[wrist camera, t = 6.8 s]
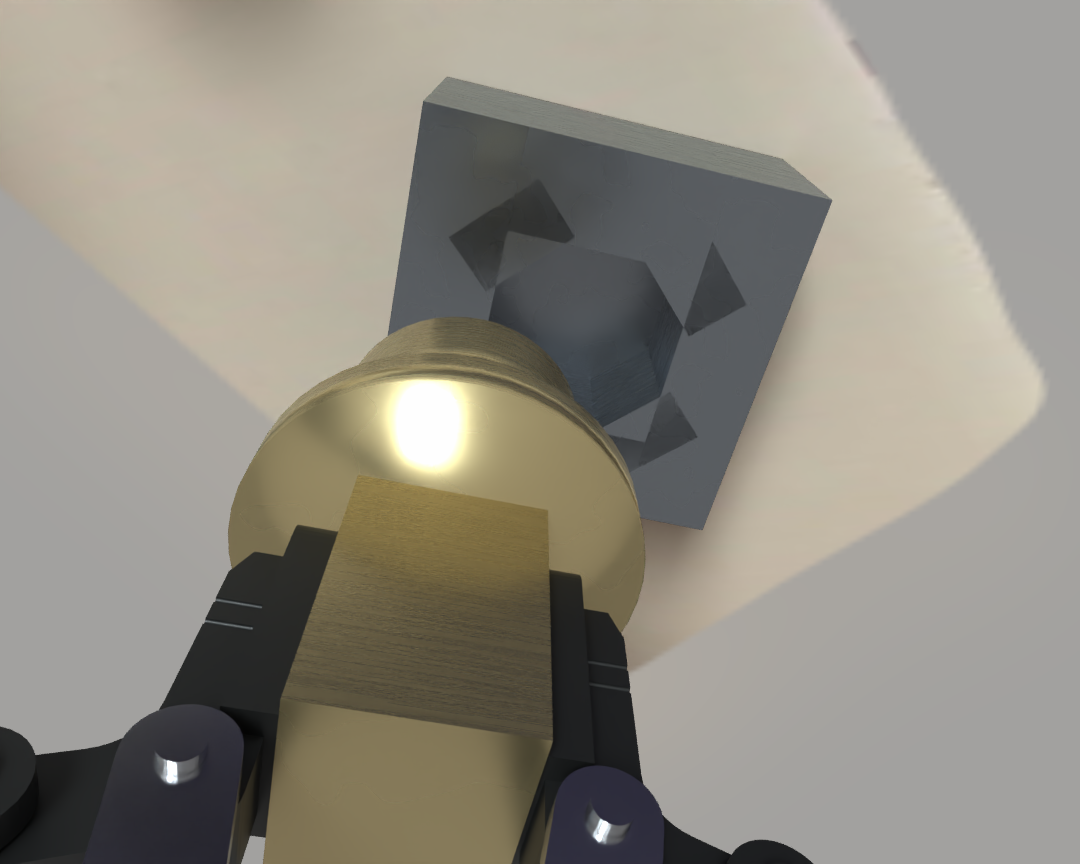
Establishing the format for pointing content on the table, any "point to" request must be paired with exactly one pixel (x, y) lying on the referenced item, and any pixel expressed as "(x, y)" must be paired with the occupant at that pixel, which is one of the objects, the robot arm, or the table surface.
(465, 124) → the housing
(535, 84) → the table surface
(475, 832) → the end cover
